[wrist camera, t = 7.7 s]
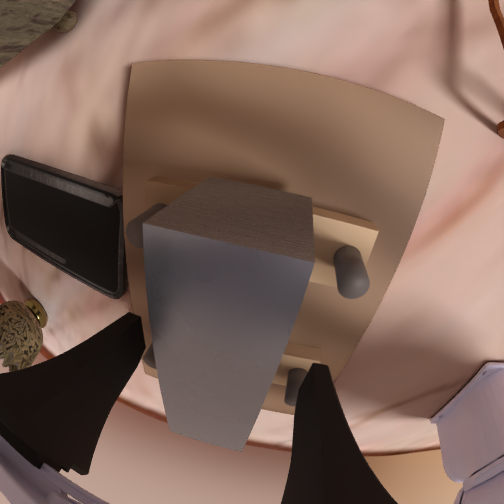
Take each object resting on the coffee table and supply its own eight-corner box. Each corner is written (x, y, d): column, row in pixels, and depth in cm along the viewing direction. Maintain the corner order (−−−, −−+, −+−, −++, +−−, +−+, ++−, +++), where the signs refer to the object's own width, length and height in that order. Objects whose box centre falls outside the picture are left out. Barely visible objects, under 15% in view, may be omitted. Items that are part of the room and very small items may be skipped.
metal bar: (257, 383, 16) (241, 451, 11) (197, 366, 16) (169, 430, 12) (311, 197, 10) (314, 262, 6) (210, 176, 10) (142, 223, 6)
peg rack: (309, 405, 20) (305, 448, 16) (150, 363, 21) (130, 400, 17) (433, 118, 9) (482, 123, 5) (145, 66, 10) (90, 56, 7)
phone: (0, 154, 14) (127, 199, 13) (10, 151, 15) (138, 193, 14) (7, 236, 17) (122, 305, 17) (15, 230, 18) (130, 296, 18)
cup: (28, 271, 20) (-24, 317, 13) (70, 329, 22) (27, 383, 15) (14, 290, 23) (-26, 329, 16) (49, 339, 25) (14, 381, 18)
